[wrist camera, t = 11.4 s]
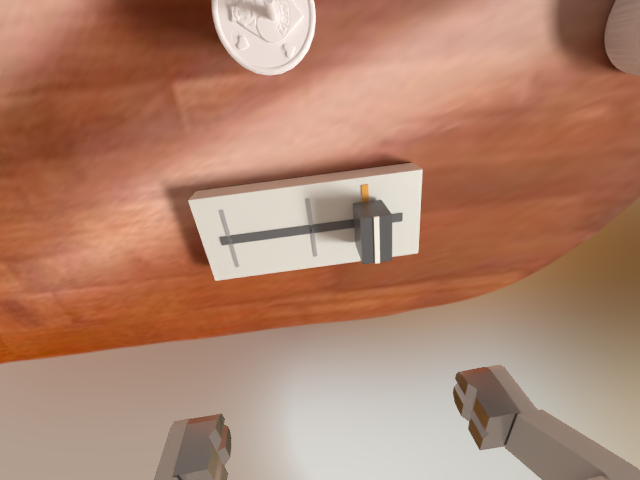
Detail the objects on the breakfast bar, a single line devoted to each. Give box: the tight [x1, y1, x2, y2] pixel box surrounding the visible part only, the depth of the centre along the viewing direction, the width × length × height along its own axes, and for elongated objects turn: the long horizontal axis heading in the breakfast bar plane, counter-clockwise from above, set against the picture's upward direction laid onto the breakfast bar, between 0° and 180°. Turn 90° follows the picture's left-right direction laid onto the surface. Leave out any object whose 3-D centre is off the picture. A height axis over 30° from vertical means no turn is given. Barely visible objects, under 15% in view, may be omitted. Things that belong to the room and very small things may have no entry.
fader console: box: [188, 163, 423, 281], centre depth 34 cm, size 24×10×3 cm, turn 96°
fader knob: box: [353, 200, 392, 264], centre depth 30 cm, size 3×5×4 cm, turn 7°
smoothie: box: [212, 0, 316, 75], centre depth 21 cm, size 6×6×14 cm
